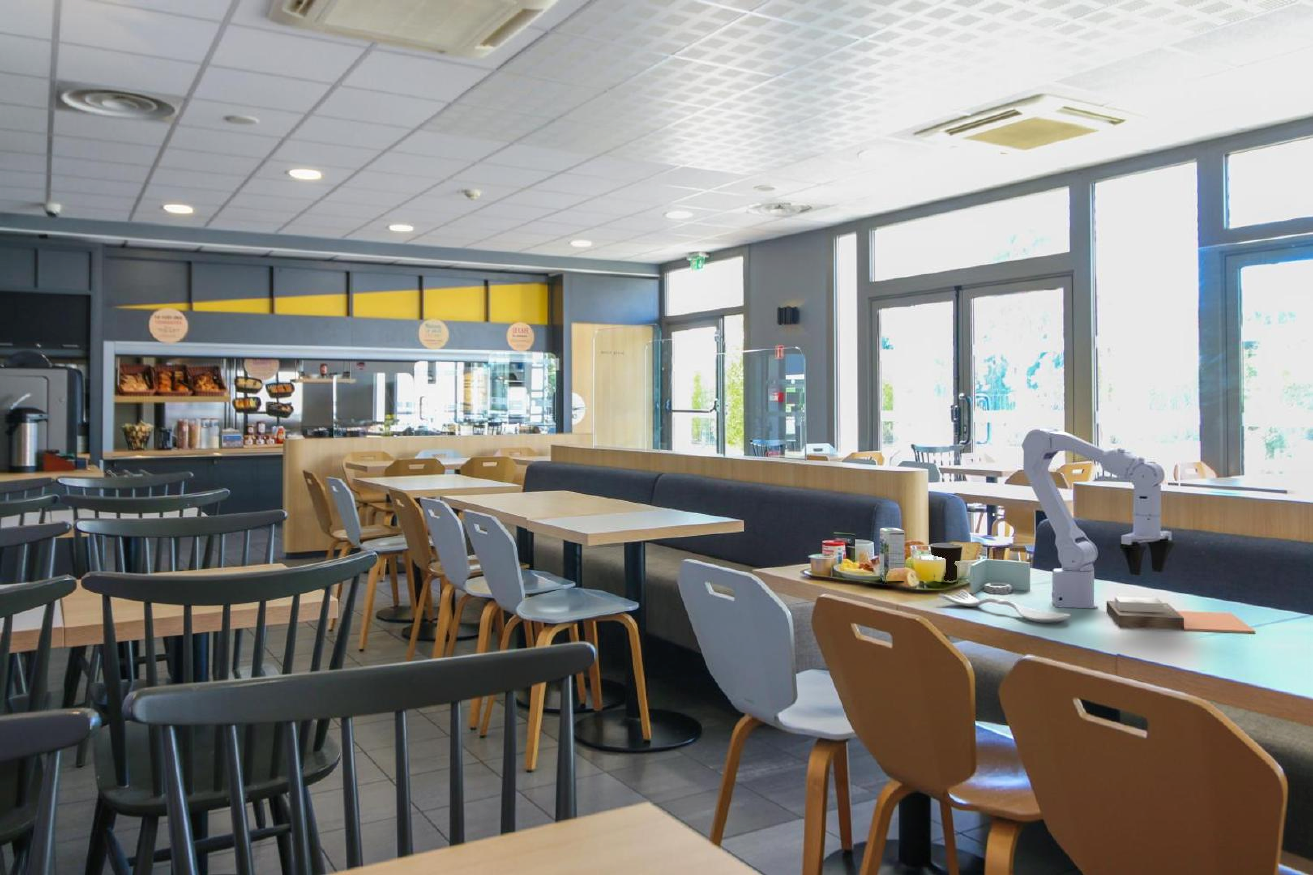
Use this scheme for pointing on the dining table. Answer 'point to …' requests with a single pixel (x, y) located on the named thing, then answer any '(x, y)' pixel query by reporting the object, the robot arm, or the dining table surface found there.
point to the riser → (1146, 618)
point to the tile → (1139, 604)
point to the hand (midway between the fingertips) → (1146, 572)
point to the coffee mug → (948, 557)
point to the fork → (1027, 613)
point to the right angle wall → (999, 576)
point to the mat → (1213, 622)
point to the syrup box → (891, 550)
